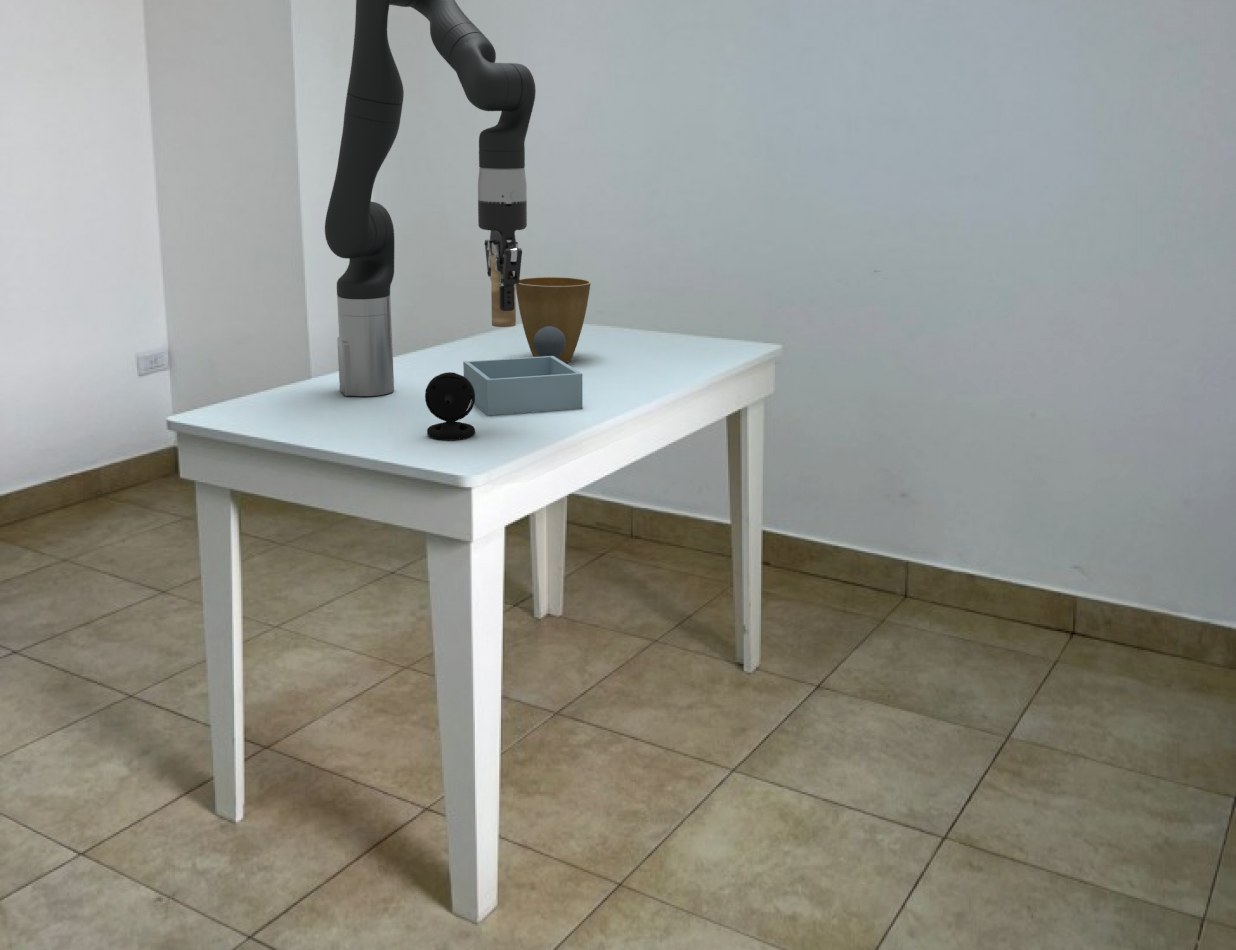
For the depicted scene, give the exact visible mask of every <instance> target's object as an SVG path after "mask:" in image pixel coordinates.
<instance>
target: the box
mask: <svg viewBox="0 0 1236 950" xmlns="http://www.w3.org/2000/svg"><path fill="white" fill-rule="evenodd" d="M462 363H463V366H462V367H463V376H464V377H465V378H467V379H468V380H469V382H470V383H471V384H472V386H473V388H474V392H475V403H474V406H477V407H478V408H479V409H480V410H481V411H482V412H483V413H484V414H485V415H487V416H500V415H513V414H514V415H515V414H524V413H525V414H526V412H528V413H539V412H540V411H541V412H553V411H552V410H554V411H564V410H565V411H567V410H566V409H568V410H578V409H579V408H581V409H583V373H581V372H580V371H579V370H577V369H576V368H574V367H572V366H571V365H569V364H567V363H564V362H562V361H561V360H559V359H558V358H556V357H554V356H543V357H533V356H532V357H531V356H530V357H527V356H526V357H514V358H497V359H482V360H479V359H478V360H465V361H463V362H462ZM471 402H472V399H471ZM579 410H580V409H579Z"/></svg>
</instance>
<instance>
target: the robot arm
mask: <svg viewBox="0 0 1236 950" xmlns="http://www.w3.org/2000/svg"><path fill="white" fill-rule="evenodd" d="M390 6H395V7H396V6H397V7H400V8H412V9H413V10H415V11H417V12H418V13H419V14H421V15H422V16H423V17H425V18H426V20H428V22H429V34H430V35H429V36H430V37H431V41H432V44H433V46H434V48H435V49H436V51H437V53H439V55H440V56H441V57H442V58H443V60H445V62H446V63H447V64H448V65H449V66H450V67H451V69H453V70H454V72H455V73H456V75H457V78H458V80H459V83H460V84H461V88H462V90H463V92H464V94H465V97H466V99H467V100H468V101H469V103H470V104H472V105H473V106H474V107H475V108H477V109H478V110H480V111H481V110H482V111H484V112H501V113H500V116H499V119H498V122H497V124H496V125H494V126H491V127H487V128H485V129H483V130H482V131H481V132H480V133H479V137H478V179H477V211H478V212H477V213H478V214H477V218H478V219H477V220H478V221H477V224H478V228H479V229H481V230H484V231H490V234H489V239H485V240H484V249H485V250H484V251H485V259H486V267H487V268H486V269H487V271H486V272H487V273H486V274H487V275H488V277H489V280H490V281H491V255H494V261H495V271H496V272H498V274H499V285H500V309H501V310H502V311H513V310H514V287H515V286H516V284H519V281H520V279H521V278H520V277H521V275H520V274H521V267H522V266H521V265H522V259H523V258H522V255H523V250H522V248H519V243H518V241H517V239H516V234H515V233H516V231H522V230H524V229H526V228H527V227H528V223H527V221H528V218H527V216H528V214H527V213H528V211H527V210H528V209H527V208H528V207H527V203H528V202H527V201H528V200H527V199H528V197H527V195H528V194H527V193H528V192H527V189H528V187H527V178H526V168H525V167H526V163H525V162H526V159H525V158H526V156H525V155H526V151H525V142H526V138H527V137H526V136H527V134H528V133H527V132H528V130H529V125H530V121H531V117H532V113H533V109H534V105H535V101H536V89H537V88H536V82H535V79H534V75H533V74H532V72H531V70H530V69H529V68H528V67H527V66H526V65H524V64H521V63H517V62H516V63H515V62H496V60H497V54H496V50H495V47H494V45H493V44H492V42H491V41H490V40H489V39H488V38H487V37H486V35H485V34H484V33H483V32H482V31H481V30H480V29H479V28H478V27H477V26H476V25H475V24H474V22H472V21H471V20H470V18H469V17H468V16H467V15H466V14H465V13H464V12H463V10H462V9H461V7H460V6H459V5H458V3H457V2H456V0H355V22H354V36H353V37H354V38H353V47H352V48H353V49H352V57H351V58H352V59H351V64H350V74H349V78H348V83H347V89H346V90H347V91H346V97H345V98H346V99H345V104H344V106H345V107H344V112H343V114H344V115H343V124H342V134H341V141H340V146H339V153H338V161H337V166H336V172H335V176H334V181H333V187H332V190H331V194H330V197H329V202H328V207H327V210H326V215H325V221H324V235H325V241H326V244H327V246H328V248H329V249H330V251H331V252H332V253H333V254H334V255H336V256H337V257H339V258H341V259H346V260H347V259H349V261H348V266H347V268H346V270H345V271H344V273H343V274H342V275H341V276H340V277H338V279H337V281H336V299H337V300H336V301H337V302H336V303H337V320H338V321H337V323H338V337H337V338H336V340H337V343H336V344H337V358H338V359H337V360H338V361H337V363H338V378H339V390H340V391H341V393H342V394H343V395H344V397H348V396H351V397H375V396H383V395H389V394H391V393H393V392H394V391H395V378H394V377H395V376H394V354H393V353H394V349H393V329H392V305H391V284H392V282H393V280H394V277H395V276H394V274H395V228H394V223H393V220H392V217H391V215H390V213H389V211H388V210H387V209H386V207H385V206H383V205H382V204H380V203H378V202H376V201H375V202H374V201H372V194H373V189H374V185H375V181H376V178H377V176H378V173H379V171H380V169H381V167H382V165H383V164H384V162H385V160H386V159H387V156H388V154H389V152H391V149H392V147H393V144H394V143H395V141H396V138H397V135H398V134H399V129H400V125H401V119H402V118H401V117H402V110H403V103H404V96H405V95H404V93H405V92H404V85H403V81H402V78H401V74H400V72H399V69H398V67H397V64H396V61H395V59H394V56H393V53H392V50H391V48H390V47H391V46H390V42H389V38H388V24H389V22H388V21H389V19H388V18H389V10H390ZM500 264H503V266H501V265H500ZM508 272H510V273H511V276H508Z"/></svg>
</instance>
